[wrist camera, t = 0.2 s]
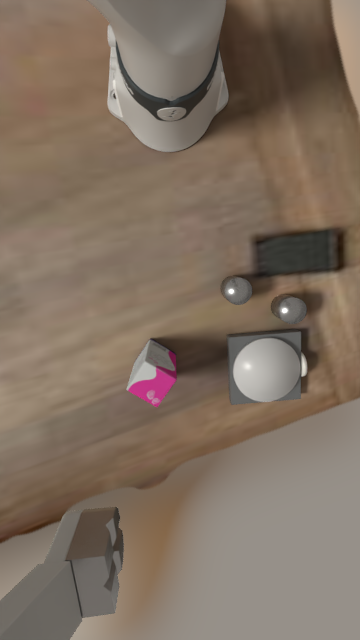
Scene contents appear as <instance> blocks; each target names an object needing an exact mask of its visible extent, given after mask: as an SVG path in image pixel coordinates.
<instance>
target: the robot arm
mask: <svg viewBox="0 0 360 640" xmlns="http://www.w3.org/2000/svg"><path fill="white" fill-rule="evenodd" d="M87 1H88V2H89V3H90V4H91V5H93V6H94V7H95V8H96V9H97V10H98V11H99V12H100V13H101V14H102V15H103V16H104V17H105V18H106V19H107V20H108V21H109V23H110V25H108V43H109V46H111V56H110V72H109V88H108V109H109V111H110V112H111V113H112V114H113V115H114V116H115V117H117V118H118V119H120V120H122V121H123V122H125V123H126V124H127V126H128V127H129V128H130V130H131V131H132V132H133V134H134V135H135V136H136V137H137V138H138V139H139V140H140V141H141V142H142V143H144V144H145V145H147V146H148V147H150V148H152V149H155V150H158V151H163V152H175V151H180V150H183V149H186V148H188V147H190V146H191V145H193V144H194V143H195V142H197V141H198V140H199V139H200V138H201V137H202V135H203V134H204V133H205V131H206V130H207V128H208V126H209V124H210V122H211V120H212V119H213V117H214V116H215V115H216V114H217V113H219V112H220V111H221V110H222V109H223V108H224V107H225V106H226V105H227V103H228V98H229V94H228V89H227V84H226V80H225V75H224V70H223V66H222V61H221V56H220V52H219V36H220V31H221V27H222V22H223V18H224V13H225V8H226V0H87ZM221 90H222V91H221ZM115 95H116V99H114V96H115ZM119 521H120V515H119V510H118V508H117V507H110V508H98V509H85V510H76V511H67V512H66V513H65V514H64V515H63V518H62V520H61V522H60V525H59V528H58V530H57V532H56V535H55V537H54V539H53V542H52V544H51V547H50V549H49V552H48V554H47V556H46V559H45V562H44V564H38V565H37V566H36V567H35V568H34V569H33V570H32V571H31V572H30V573H29V574H28V575H27V576H25V577H24V579H22V580H21V581H20V582H19V583H18V584H17V585H16V586H15V587H14V588H13V589H12V590H11V591H10V592H9V593H8V594H7V595H6V596H5V597H4V598H3V599H1V601H0V640H70V638H71V637H72V635H73V634H74V632H75V631H76V629H77V627H78V626H79V624H80V623H81V622H82V618H85V617H91V616H98V615H106V614H112V613H115V609H116V603H117V597H118V590H119V582H118V576H117V575H118V573H119V572H120V571H121V570H122V564H123V552H124V543H123V533H122V530H121V529H120V528H119Z"/></svg>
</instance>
